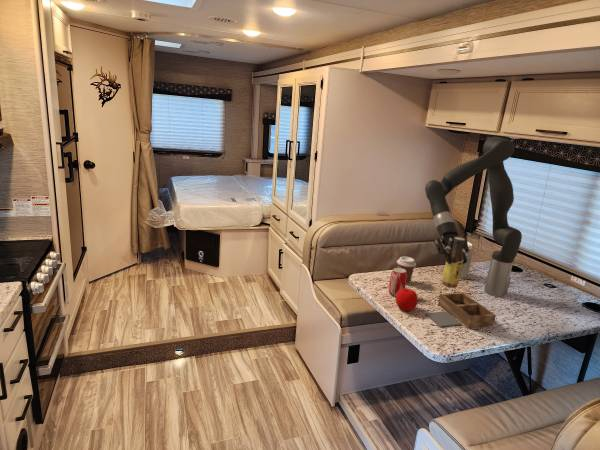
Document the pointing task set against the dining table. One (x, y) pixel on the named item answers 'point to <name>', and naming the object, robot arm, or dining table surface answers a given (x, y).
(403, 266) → the coffee cup
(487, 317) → the caddy
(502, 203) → the robot arm
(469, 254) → the jar
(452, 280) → the sauce bottle
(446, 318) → the coaster
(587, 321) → the dining table surface
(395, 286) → the soda can
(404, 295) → the fruit
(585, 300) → the dining table surface
